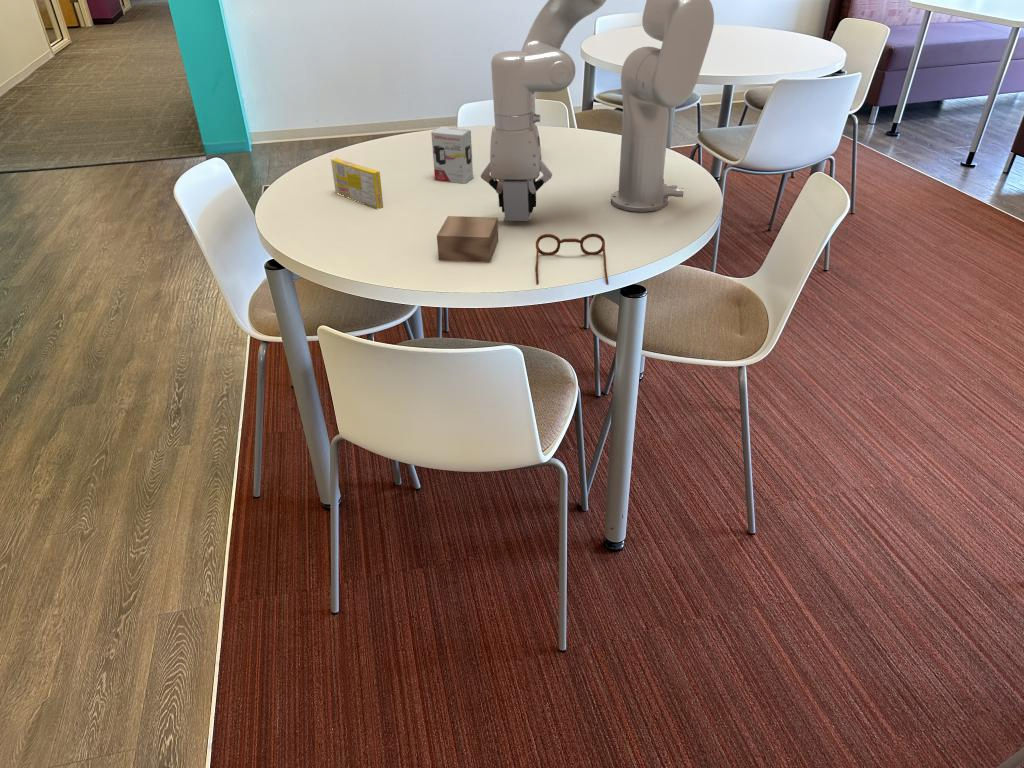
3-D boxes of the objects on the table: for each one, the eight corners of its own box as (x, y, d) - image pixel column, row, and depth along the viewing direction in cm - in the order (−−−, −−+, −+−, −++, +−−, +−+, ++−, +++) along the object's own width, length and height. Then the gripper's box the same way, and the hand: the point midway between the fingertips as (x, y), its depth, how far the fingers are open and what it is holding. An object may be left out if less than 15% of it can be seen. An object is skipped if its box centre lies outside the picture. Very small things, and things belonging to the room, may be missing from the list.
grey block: (531, 211, 153) (530, 174, 148) (528, 220, 149) (527, 183, 144) (508, 211, 154) (506, 174, 149) (504, 220, 150) (502, 183, 145)
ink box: (433, 180, 176) (429, 131, 169) (442, 174, 180) (438, 126, 173) (465, 184, 173) (462, 134, 166) (473, 177, 177) (471, 128, 170)
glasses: (604, 256, 138) (605, 231, 135) (608, 286, 127) (610, 260, 124) (535, 256, 139) (535, 232, 136) (534, 287, 128) (534, 261, 125)
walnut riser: (498, 241, 144) (497, 217, 141) (490, 262, 136) (489, 237, 133) (449, 239, 145) (448, 216, 142) (438, 260, 137) (436, 235, 134)
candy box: (385, 207, 162) (380, 170, 157) (377, 210, 161) (372, 173, 156) (342, 191, 171) (336, 157, 167) (335, 194, 170) (329, 159, 165)
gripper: (558, 115, 142) (559, 203, 152) (474, 116, 144) (481, 203, 155) (555, 126, 136) (556, 217, 146) (467, 126, 138) (474, 216, 149)
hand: (517, 209), depth 150 cm, fingers closed on grey block, 5 cm apart
